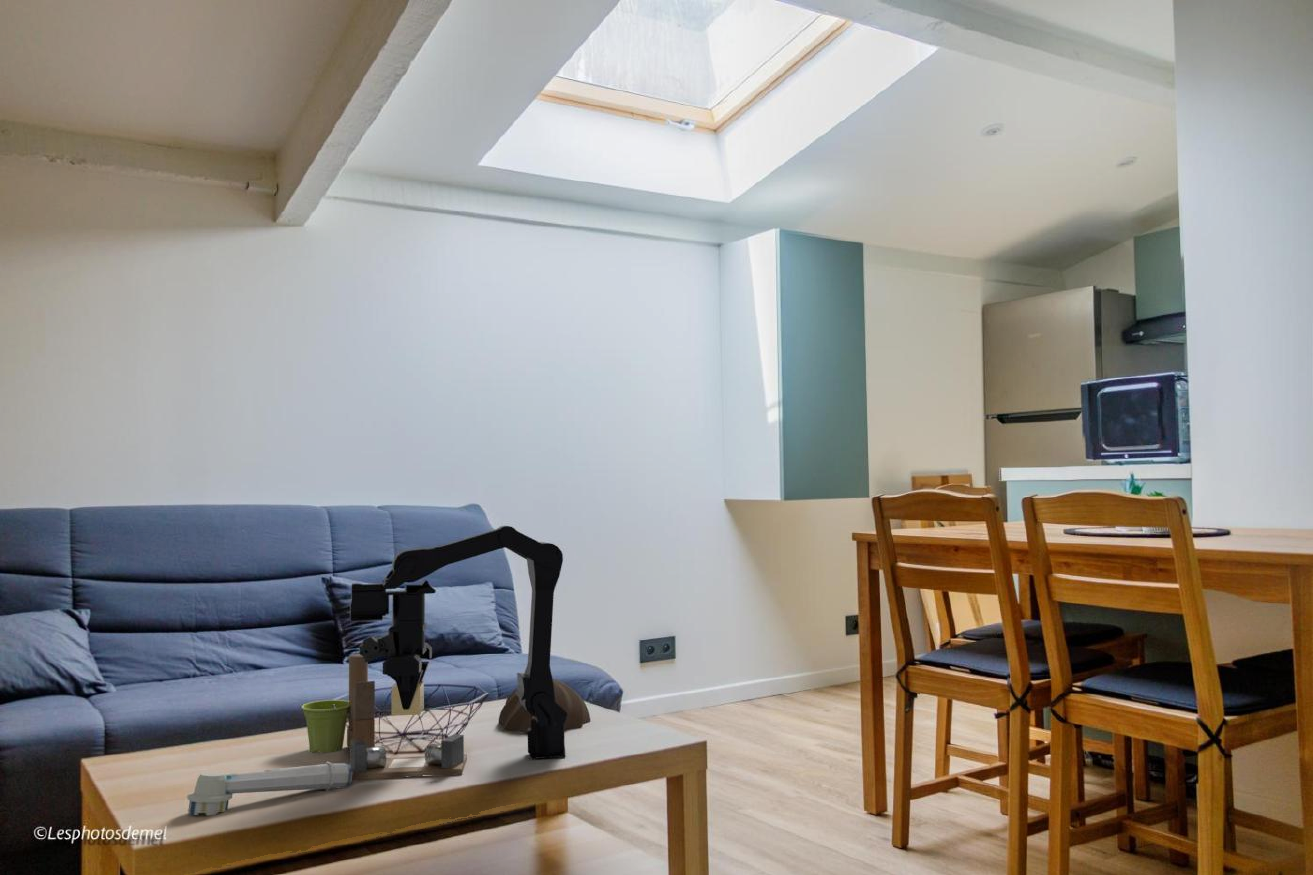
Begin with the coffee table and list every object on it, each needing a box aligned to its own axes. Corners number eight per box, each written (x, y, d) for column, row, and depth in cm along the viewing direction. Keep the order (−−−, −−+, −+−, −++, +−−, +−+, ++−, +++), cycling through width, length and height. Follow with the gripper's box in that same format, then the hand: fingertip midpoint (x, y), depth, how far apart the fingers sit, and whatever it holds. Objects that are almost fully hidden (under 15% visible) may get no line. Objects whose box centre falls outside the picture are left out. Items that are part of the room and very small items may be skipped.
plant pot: (344, 741, 195) (345, 697, 195) (357, 750, 187) (357, 705, 187) (296, 748, 190) (296, 703, 190) (307, 758, 182) (307, 711, 182)
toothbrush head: (355, 764, 162) (197, 771, 147) (349, 806, 161) (190, 817, 146) (343, 758, 167) (189, 764, 151) (338, 798, 166) (182, 808, 150)
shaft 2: (423, 767, 170) (423, 740, 170) (435, 760, 174) (435, 733, 175) (452, 769, 168) (451, 741, 169) (463, 762, 173) (463, 734, 173)
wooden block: (355, 759, 180) (355, 662, 182) (346, 746, 190) (346, 654, 191) (375, 756, 182) (375, 660, 183) (365, 744, 192) (366, 652, 193)
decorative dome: (547, 739, 194) (547, 688, 195) (479, 727, 206) (479, 679, 207) (608, 720, 210) (607, 674, 210) (541, 710, 221) (541, 666, 222)
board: (466, 759, 179) (466, 753, 179) (461, 774, 169) (461, 768, 169) (355, 764, 176) (355, 759, 176) (344, 780, 166) (344, 774, 166)
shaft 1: (381, 763, 173) (381, 736, 174) (386, 769, 169) (386, 741, 169) (350, 767, 171) (350, 740, 171) (354, 774, 167) (354, 745, 167)
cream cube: (423, 708, 177) (423, 681, 177) (420, 714, 172) (420, 686, 172) (396, 709, 176) (396, 682, 176) (391, 715, 171) (391, 687, 172)
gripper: (372, 614, 183) (372, 697, 182) (352, 626, 165) (351, 719, 164) (432, 613, 185) (432, 695, 184) (418, 624, 166) (418, 716, 165)
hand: (408, 706), depth 174 cm, fingers closed on cream cube, 5 cm apart
